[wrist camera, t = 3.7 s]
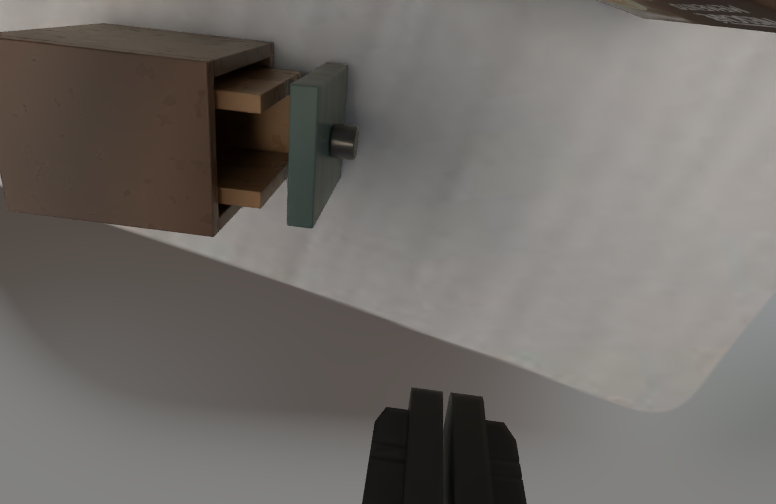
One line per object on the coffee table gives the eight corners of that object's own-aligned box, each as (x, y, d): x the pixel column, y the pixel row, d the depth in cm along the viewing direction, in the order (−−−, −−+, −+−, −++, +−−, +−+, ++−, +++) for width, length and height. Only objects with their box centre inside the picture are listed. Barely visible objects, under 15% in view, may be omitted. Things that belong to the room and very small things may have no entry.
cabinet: (273, 42, 30) (206, 61, 21) (272, 174, 33) (213, 237, 24) (103, 23, 30) (-30, 34, 22) (118, 156, 33) (7, 211, 25)
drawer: (371, 67, 29) (348, 90, 22) (362, 180, 32) (339, 232, 25) (191, 46, 29) (113, 63, 23) (197, 160, 32) (129, 206, 25)
